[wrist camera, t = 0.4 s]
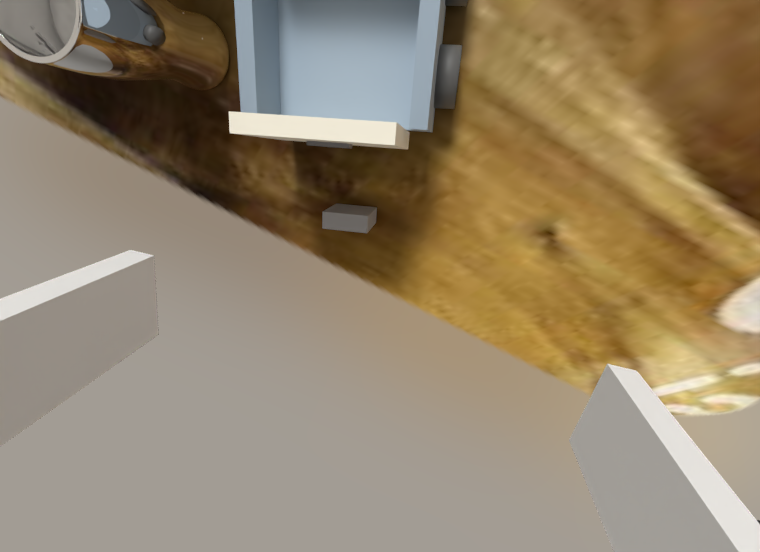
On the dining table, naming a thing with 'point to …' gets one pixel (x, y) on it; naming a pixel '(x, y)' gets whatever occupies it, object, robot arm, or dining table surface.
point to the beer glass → (117, 39)
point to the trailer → (347, 67)
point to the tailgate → (320, 130)
